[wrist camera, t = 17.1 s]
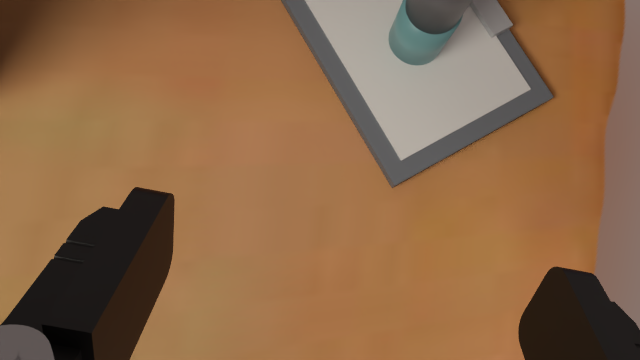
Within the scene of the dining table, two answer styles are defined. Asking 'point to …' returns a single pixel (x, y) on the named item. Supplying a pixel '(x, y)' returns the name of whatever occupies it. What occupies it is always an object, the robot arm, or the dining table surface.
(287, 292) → the dining table surface
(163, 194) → the robot arm
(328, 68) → the grey flat block
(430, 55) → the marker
